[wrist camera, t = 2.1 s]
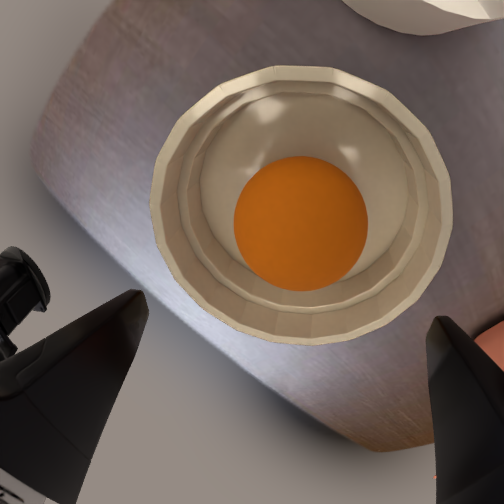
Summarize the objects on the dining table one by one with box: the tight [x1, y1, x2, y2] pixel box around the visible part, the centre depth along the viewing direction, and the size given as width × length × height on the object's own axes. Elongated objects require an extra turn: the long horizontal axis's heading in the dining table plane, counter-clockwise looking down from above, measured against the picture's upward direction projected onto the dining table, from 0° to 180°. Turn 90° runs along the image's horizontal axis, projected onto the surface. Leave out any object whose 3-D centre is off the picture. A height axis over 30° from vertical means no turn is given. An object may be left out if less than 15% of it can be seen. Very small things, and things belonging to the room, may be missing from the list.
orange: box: [234, 156, 368, 291], centre depth 14 cm, size 6×6×6 cm
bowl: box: [149, 65, 453, 346], centre depth 15 cm, size 14×14×4 cm
